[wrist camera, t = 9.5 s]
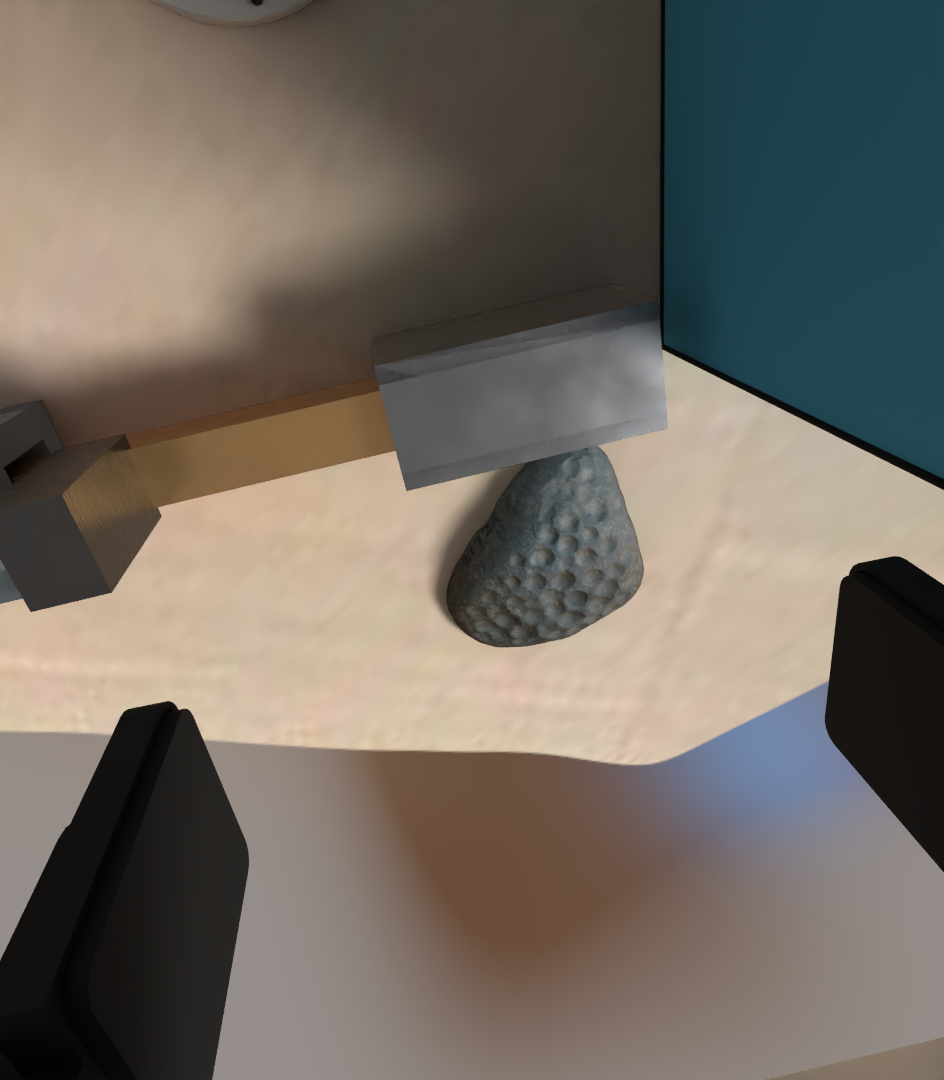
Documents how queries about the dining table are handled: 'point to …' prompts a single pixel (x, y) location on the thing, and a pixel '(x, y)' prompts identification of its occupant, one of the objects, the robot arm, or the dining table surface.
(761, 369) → the box
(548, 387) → the sleeve
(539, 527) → the fossil
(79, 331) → the dining table surface
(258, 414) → the tan bar piece
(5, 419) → the socket
